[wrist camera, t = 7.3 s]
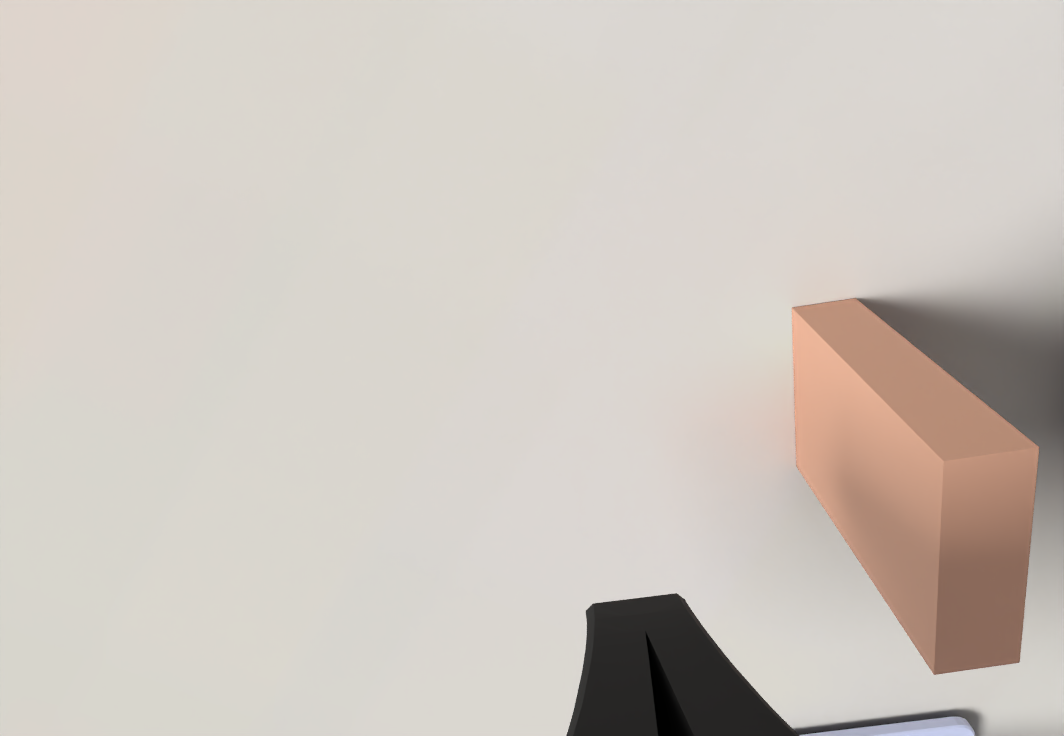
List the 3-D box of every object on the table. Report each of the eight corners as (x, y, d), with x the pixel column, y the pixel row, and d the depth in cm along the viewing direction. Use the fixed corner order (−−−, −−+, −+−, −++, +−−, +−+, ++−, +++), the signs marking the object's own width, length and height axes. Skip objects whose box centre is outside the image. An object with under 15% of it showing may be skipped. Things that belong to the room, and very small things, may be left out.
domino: (855, 457, 21) (1019, 662, 14) (796, 466, 21) (933, 674, 14) (855, 298, 19) (1039, 446, 13) (791, 307, 19) (943, 461, 13)
